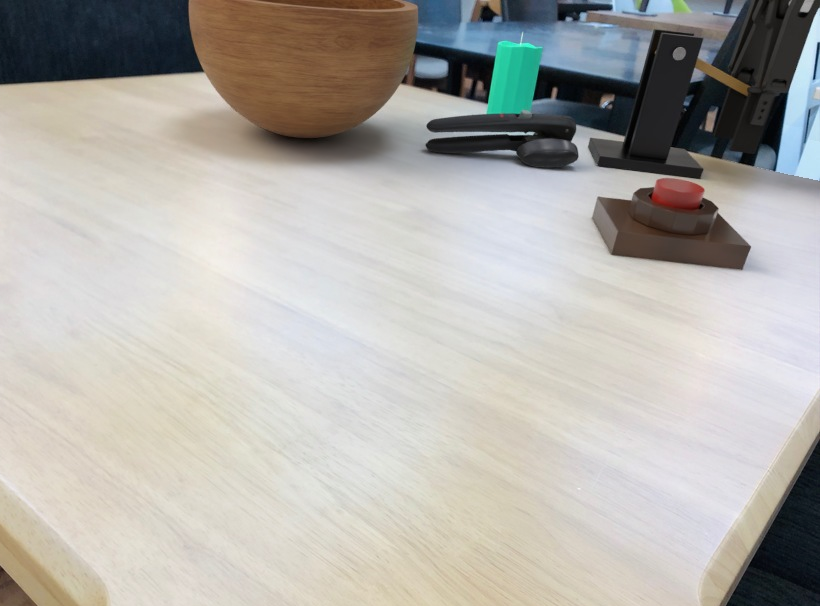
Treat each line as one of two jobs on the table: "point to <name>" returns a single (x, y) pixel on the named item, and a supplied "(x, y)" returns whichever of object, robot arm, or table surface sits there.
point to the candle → (514, 77)
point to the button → (678, 193)
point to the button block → (669, 232)
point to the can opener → (510, 136)
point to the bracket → (656, 111)
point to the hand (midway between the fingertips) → (733, 143)
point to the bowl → (304, 59)
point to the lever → (723, 77)
